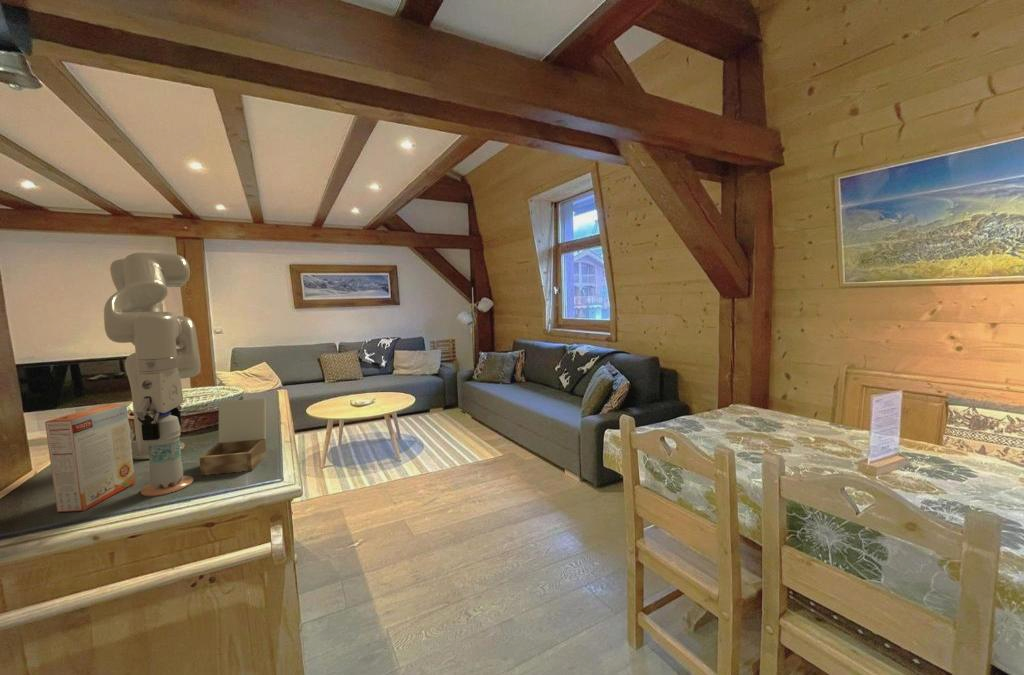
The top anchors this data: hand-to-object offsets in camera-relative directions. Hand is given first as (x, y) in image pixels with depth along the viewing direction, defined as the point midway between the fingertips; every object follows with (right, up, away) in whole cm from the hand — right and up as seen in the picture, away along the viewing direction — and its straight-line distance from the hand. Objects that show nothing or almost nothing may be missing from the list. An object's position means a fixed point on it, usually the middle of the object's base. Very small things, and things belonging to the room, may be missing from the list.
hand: (163, 432), depth 100 cm
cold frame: (+8, -12, +14) cm, 21 cm away
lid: (+6, -12, +21) cm, 25 cm away
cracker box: (-11, -15, -5) cm, 19 cm away
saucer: (+1, -14, +1) cm, 14 cm away
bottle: (+1, -13, 0) cm, 13 cm away
